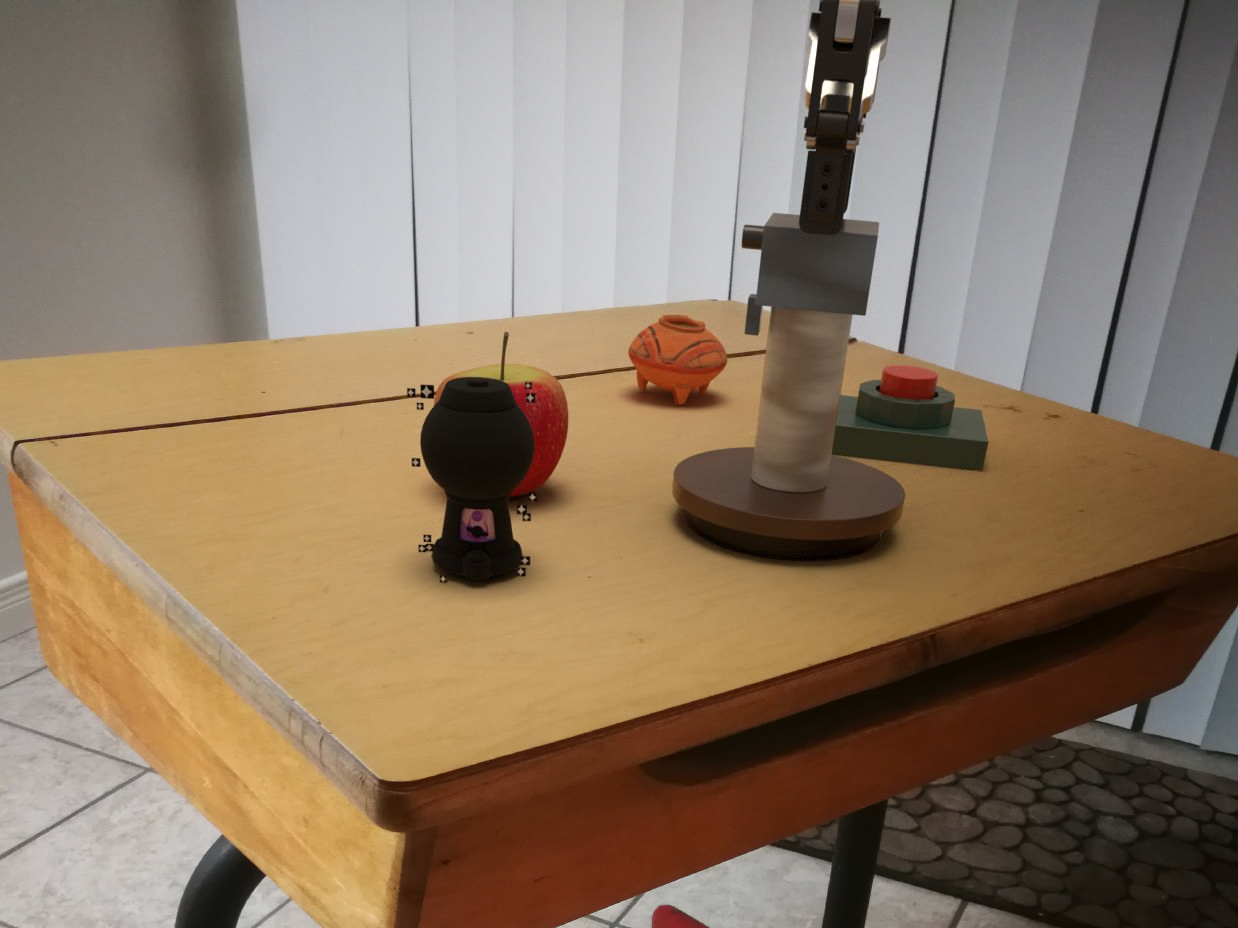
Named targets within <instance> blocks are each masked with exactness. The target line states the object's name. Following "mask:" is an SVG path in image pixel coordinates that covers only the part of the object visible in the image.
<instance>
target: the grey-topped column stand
mask: <svg viewBox="0 0 1238 928" xmlns="http://www.w3.org/2000/svg"><path fill="white" fill-rule="evenodd" d="M799 218H800V214H792V213H782V212H781V213H780V212H772V213H771V215H770V217H769V218H768V219H767V221H766V223H765V224H764V225H758V224H757V225H755V224H744V225H743V227H742V234H741V249H746V250H757V251H760V259H759V269H758V278H757V284H756V285H757V287H756V293H750V294H749V296H748V298H747V304H746V316H745V325H744V335H747V336H759V334H760V332H761V328H762V327H761V326H762V319H763V309H764V307H770V313H769V319H768V321H769V322H768V330H767V339H766V347H765V356H764V363H763V364H764V365H763V372H762V381H761V388H760V389H761V390H760V398H759V406H758V415H757V424H756V432H755V440H754V446H743V447H742V446H741V447H727V448H719V449H713V450H708V451H703V452H700V453H696V454H693V455H690V456H688V457H686V458H684V459H683V460H681V461H680V462H679V463H677V465H676V466H675V467H674V469H673V474H672V475H673V476H672V487H671V492H672V497H673V499H674V501H675V502H676V503H677V504H678V505H679V506H680V507H681V508H682V509H684V510H685V511H686V512H687V511H688V512H690V513H691V514H693V515H695V516H697V517H699V518H701V519H704V520H706V521H708V522H711V523H714V524H717V525H720V526H723V527H726V528H730V529H733V530H737V531H742V532H746V533H751V534H756V535H761V536H768V537H775V538H785V539H796V540H841V539H852V538H858V537H864V536H869V535H873V534H877V533H880V532H886V531H887V530H889V529H891V528H893V527H894V526H895V525H896V524H898V523H899V522H900V521H901V519H902V515H903V510H904V505H905V499H906V492H905V489H904V487H903V486H902V484H901V483H900V482H899V481H898V480H896V479H895V478H894V477H892V476H891V475H890V474H888V473H885V472H884V471H882V470H880V469H878V468H876V467H873V466H871V465H868V464H865V463H863V462H860V461H857V460H853V459H850V458H847V457H846V458H845V457H843V456H839V455H832V448H833V441H834V435H835V428H836V422H837V415H838V408H839V402H840V395H842V387H843V381H844V374H845V369H846V361H847V355H848V348H849V342H850V334H851V328H852V322H853V316H863V317H865V316H866V314H867V309H868V302H869V296H870V289H871V282H872V278H873V277H872V276H873V271H874V264H875V258H876V252H877V246H878V239H879V232H880V231H879V230H880V222H879V221H870V220H860V219H848V218H843V223H842V227H841V230H840V231H839V232H838V233H837V234H835V235H822V234H812V233H805V232H803V231H802V230H801V229H800V226H799Z"/></svg>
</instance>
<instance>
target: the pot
mask: <svg viewBox="0 0 1238 928" xmlns="http://www.w3.org/2000/svg"><path fill="white" fill-rule="evenodd" d="M627 353H628V357H629V359H630V362H631V363H632V365H633V366H634V368H635V369H636V383H637V386H638V389H639V391H640V392H641V393H644V392H646V389H647V385H648V384H649V383H651V384H652V385H653V386H656V387H658V388H660V389H662V390H666V391H670V392H672V393H673V399H674V403H675V406H682V405H684V404H685V403H686V402H687V399H688V398H689V394H690V392H691V391H693V390H696V389H698V394H700V395H704V394H705V393H706V392H707V390H708V388H709V386H710V383H711V381H713V380H715V378H717V377H718V376H719V375H720V374H721V373H723V371H724V370H725V368H726V366H727V364H728V354H727V351H726V349H725V347H724V345H723V344H722V342H721V341H720V340H719V338H718V337H716V336H715V334H713V332H711V331H710V330H708V329H707V328H706V324H705V322H704V321H703V320H701V321H699V320H696V319H694V318H691V317H689V316H688V315H683V314H664V315H662V316H661V317H659V318H658V321H657V322H653V323H652V324H651V325H649V326H647V327H645V328H644V329H643V330H641V331H640V332H639V333H638V334H637V335H636V336H635V338H634V339H633V340H632V342H631V344H630V345H629V347H628V350H627Z"/></svg>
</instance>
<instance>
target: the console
mask: <svg viewBox="0 0 1238 928" xmlns="http://www.w3.org/2000/svg"><path fill="white" fill-rule="evenodd" d="M880 383H881V379H871V380H867V381H864V382H861V383H859V387H858V392H857V393H858V394H857V396H852V395H843V394H841V395H840V402H839V408H838V415H837V422H836V428H835V435H834V441H833V448H832V455H834V456H838V457H847V458H848V457H849V458H856V459H857V458H858V459H865V460H866V459H867V460H875V461H884V462H894V463H902V464H910V465H911V464H912V465H919V466H920V465H921V466H931V467H938V468H947V469H956V470H964V469H966V470H965V471H973V470H978V471H977V472H983V469H984V465H985V461H986V456H987V451H988V447H989V438H988V433H987V429H986V424H985V420H984V416H983V411H982V409H976V408H967V407H957V406H955V403H956V397H955V393H954V392H952V391H950V390H948V389H946V388H944V387H942V386H939V385H936V390H935V396H934V398H933V399H918V400H914V399H905V398H897V397H893V396H889V395H885V394H882V393H880V392H879V389H880Z"/></svg>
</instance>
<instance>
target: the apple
mask: <svg viewBox="0 0 1238 928" xmlns="http://www.w3.org/2000/svg"><path fill="white" fill-rule="evenodd" d="M509 336H510V334H509V331H505V332H503V339H502V350H501V363H498V364H491V365H484V366H480V367H475V368H470V369H467V370H463V371H459V372H456V373H454V374H450V375H449V376H447V377H446V378H445V379H443V380H442V381H441V382H440V384H439V386H438V387H437V390H436V393H435V395H434V399H433V400H434V402H433V406H434V405H435V404H436V403H437V402H438V401H439V398H440V396H441V394H442V391H443V389H444V386H445V384H446V383H447V382H448V381H449V380H452V379H456V378H461V377H485V378H492V379H497V380H501V381H504V382H505V383H507V384H508V385H509V386H510V388H511V391H512V393H513V396H514V398H515V401H516V403H517V405H518V406H519V407H520V408H521V409H522V411H523V412H524V414H525V416H526V417H527V419H528V421H529V423H530V425H531V428H532V431H533V435H534V445H535V448H534V456H533V460H532V464H531V466H530V468H529V470H528V472H527V474H526V476H525V478H524V479H523V481H522V482H521V483H520V484H519V485H518V486H517V487H516V488H515V489H514V490H513V491H511V492H510V496H509V498H514V497H519V496H523V495H526V494H529V493H532V492H534V491H535V490H538V489H539V488H540V487H542V486H543V485H544V484H545V483H546V482H547V481H548V480H549V479H550V477H551V476H552V474H553V473H554V472H555V470H556V469H557V466H558V464H559V462H560V460H561V458H562V454H563V452H564V449H565V446H566V442H567V438H568V431H569V408H568V407H569V406H568V400H567V396H566V393H565V390H564V387H563V386H562V384H561V382H560V381H559V380H558V379H557V377H555V376H554V375H552V374H551V373H550V372H548V371H547V370H544V369H541V368H539V367H535V366H531V365H527V364H519V363H506V352H507V346H508V342H509V341H508V340H509ZM525 382H532V389H525ZM526 393H536V396H535V403H531V402H526Z"/></svg>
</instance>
